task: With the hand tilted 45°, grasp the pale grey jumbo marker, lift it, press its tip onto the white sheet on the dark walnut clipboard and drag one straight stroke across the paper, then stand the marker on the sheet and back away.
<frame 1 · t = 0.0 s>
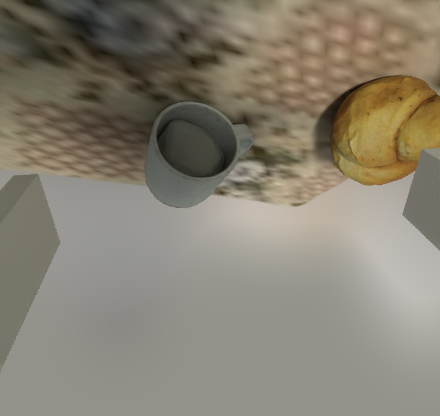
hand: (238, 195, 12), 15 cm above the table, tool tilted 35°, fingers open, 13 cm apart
bread roll: (369, 109, 35), on the table
ceramic mug: (198, 125, 34), on the table
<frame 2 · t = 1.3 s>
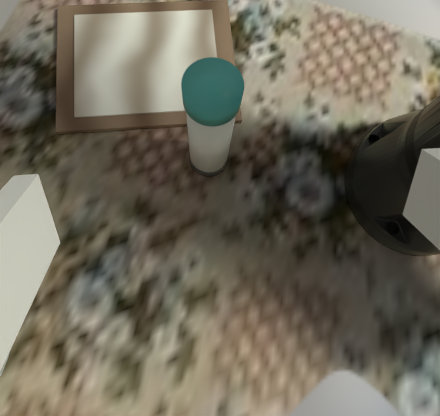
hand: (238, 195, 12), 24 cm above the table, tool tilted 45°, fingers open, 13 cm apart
marker: (208, 158, 38), on the table
writing pad: (147, 64, 40), on the table
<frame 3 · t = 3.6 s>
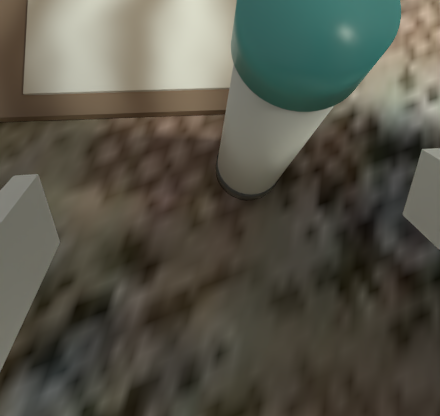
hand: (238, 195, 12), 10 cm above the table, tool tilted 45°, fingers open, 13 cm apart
marker: (247, 169, 23), on the table
writing pad: (149, 13, 25), on the table
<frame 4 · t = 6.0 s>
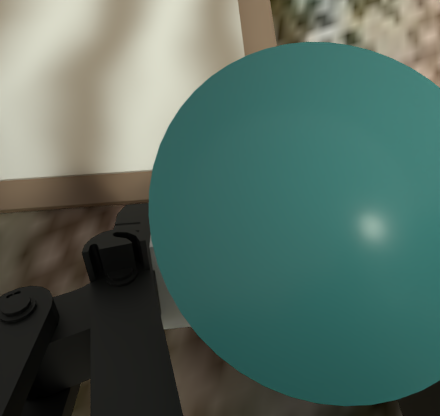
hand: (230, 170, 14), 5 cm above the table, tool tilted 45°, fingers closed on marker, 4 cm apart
marker: (229, 272, 18), on the table, touching gripper
writing pad: (104, 70, 20), on the table
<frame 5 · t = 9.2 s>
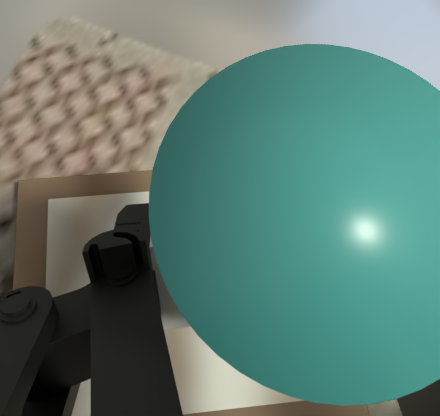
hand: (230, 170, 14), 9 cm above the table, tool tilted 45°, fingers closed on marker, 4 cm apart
marker: (229, 273, 18), point 4 cm above the table, touching gripper
writing pad: (183, 293, 22), on the table
when the fingers open (6 cm above the table, at t = 12.8 s): marker stays where it is, resting on writing pad.
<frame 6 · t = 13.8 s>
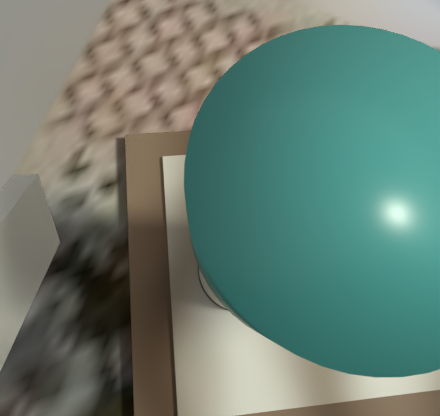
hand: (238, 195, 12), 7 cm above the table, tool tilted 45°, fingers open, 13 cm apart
marker: (238, 269, 18), point 1 cm above the table, touching writing pad
writing pad: (319, 264, 19), on the table
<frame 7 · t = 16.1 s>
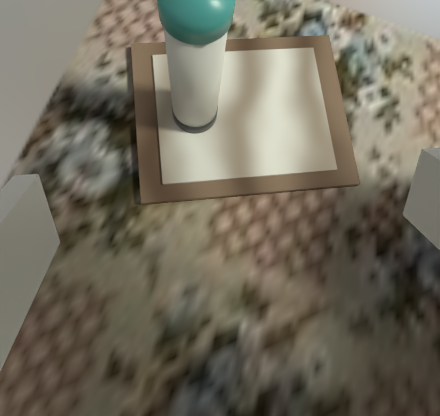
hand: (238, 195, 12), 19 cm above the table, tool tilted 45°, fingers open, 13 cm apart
marker: (194, 113, 32), point 1 cm above the table, touching writing pad
writing pad: (241, 115, 34), on the table
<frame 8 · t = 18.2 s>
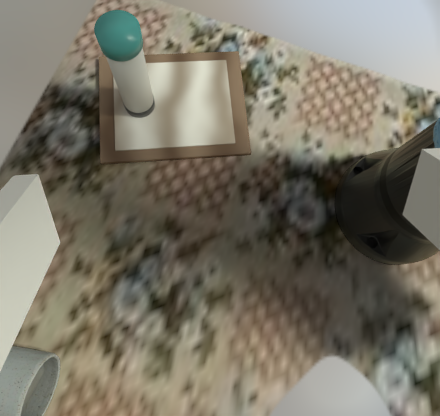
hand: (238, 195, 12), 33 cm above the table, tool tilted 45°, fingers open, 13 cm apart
marker: (139, 104, 48), point 1 cm above the table, touching writing pad
writing pad: (173, 106, 49), on the table
ceramic mug: (22, 389, 40), on the table
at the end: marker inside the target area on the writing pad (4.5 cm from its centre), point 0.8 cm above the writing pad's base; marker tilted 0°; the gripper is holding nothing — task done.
